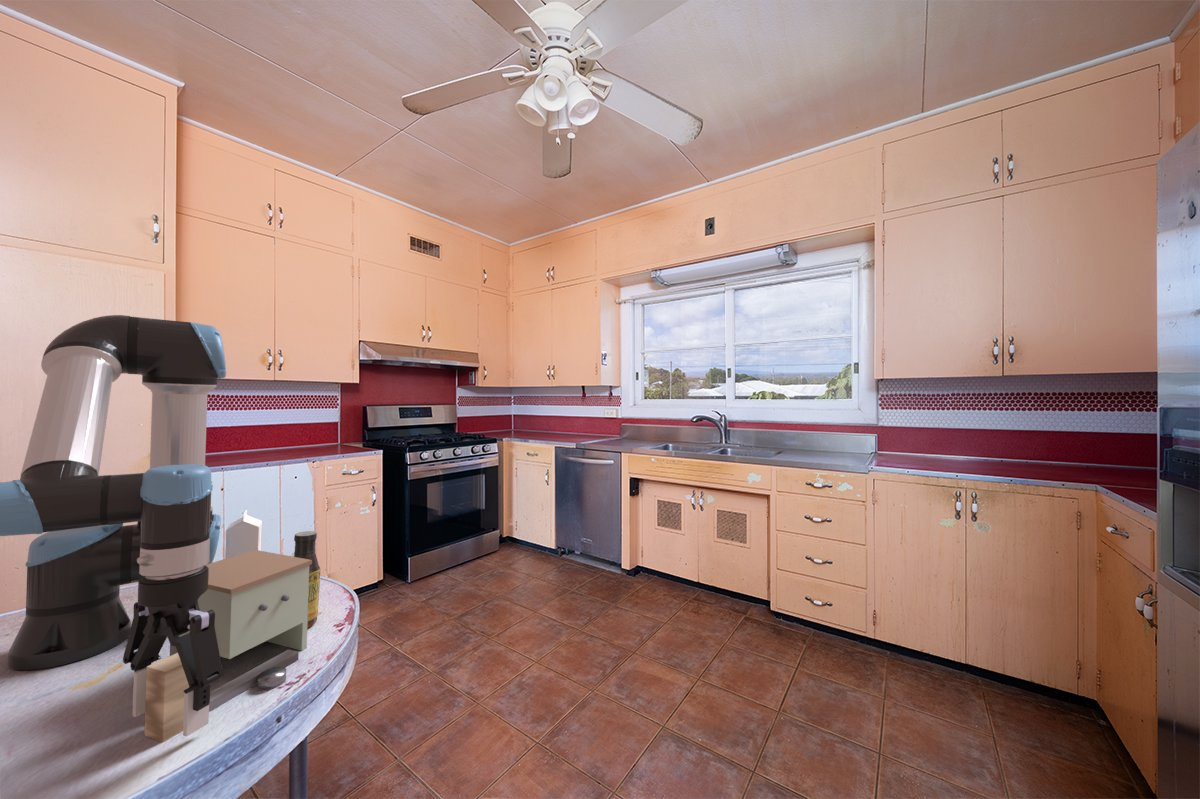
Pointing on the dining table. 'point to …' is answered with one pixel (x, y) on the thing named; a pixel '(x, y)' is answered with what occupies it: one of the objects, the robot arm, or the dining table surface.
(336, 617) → the dining table surface
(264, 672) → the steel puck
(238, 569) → the cabinet
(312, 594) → the sauce bottle
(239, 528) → the milk
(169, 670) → the wooden toy block
